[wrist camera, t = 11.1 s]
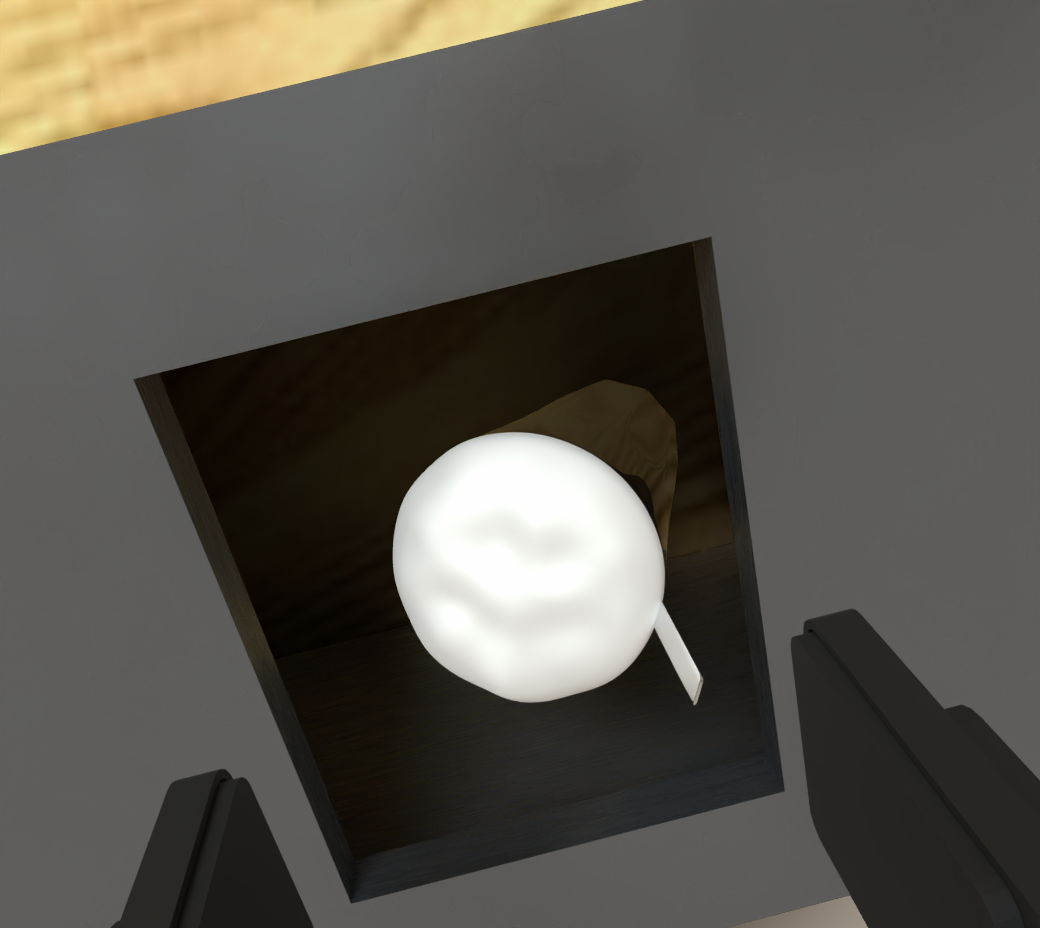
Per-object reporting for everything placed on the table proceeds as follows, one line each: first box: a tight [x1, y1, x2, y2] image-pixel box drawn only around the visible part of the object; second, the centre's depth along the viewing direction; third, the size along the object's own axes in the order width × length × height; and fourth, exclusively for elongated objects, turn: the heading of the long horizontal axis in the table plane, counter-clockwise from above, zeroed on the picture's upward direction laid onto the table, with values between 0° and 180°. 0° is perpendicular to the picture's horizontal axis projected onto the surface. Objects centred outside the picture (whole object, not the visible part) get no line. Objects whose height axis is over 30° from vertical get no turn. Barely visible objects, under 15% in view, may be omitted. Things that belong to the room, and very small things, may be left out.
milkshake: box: [393, 379, 703, 705], centre depth 17 cm, size 4×5×10 cm
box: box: [0, 0, 1040, 928], centre depth 19 cm, size 20×16×12 cm
